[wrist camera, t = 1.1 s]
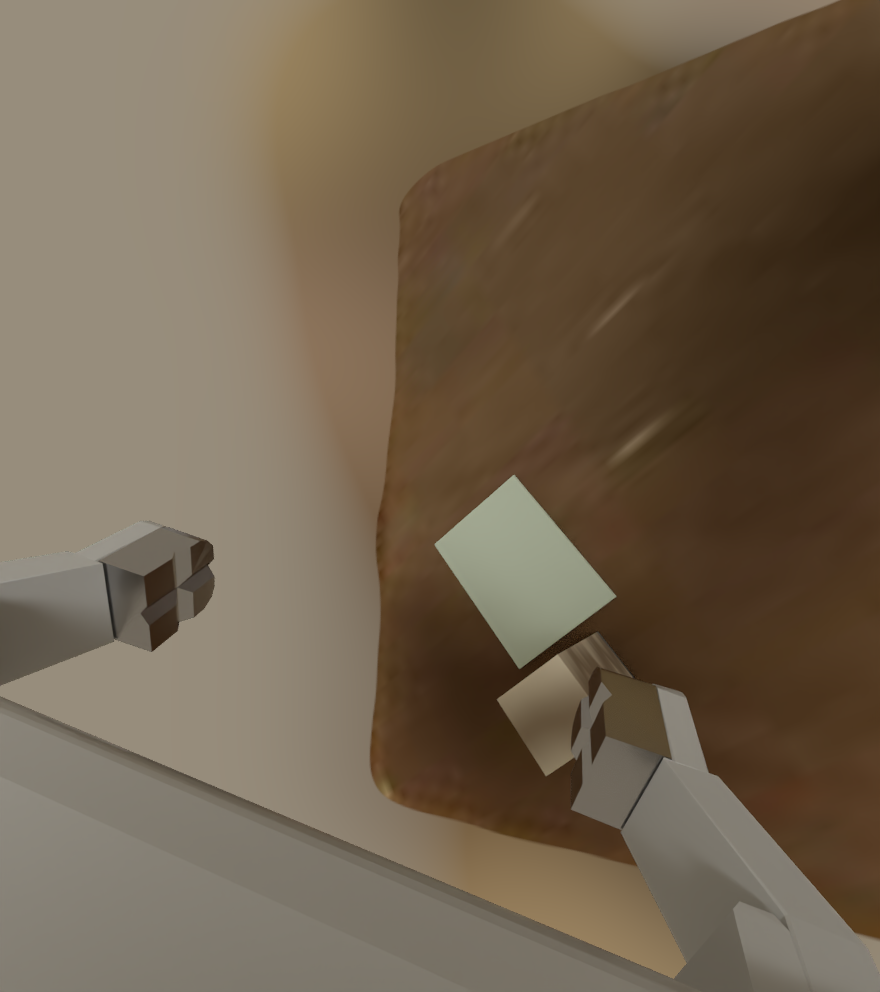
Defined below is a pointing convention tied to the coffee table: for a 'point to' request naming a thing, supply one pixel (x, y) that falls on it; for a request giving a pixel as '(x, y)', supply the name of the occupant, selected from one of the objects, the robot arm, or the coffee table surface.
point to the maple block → (557, 699)
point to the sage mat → (522, 572)
